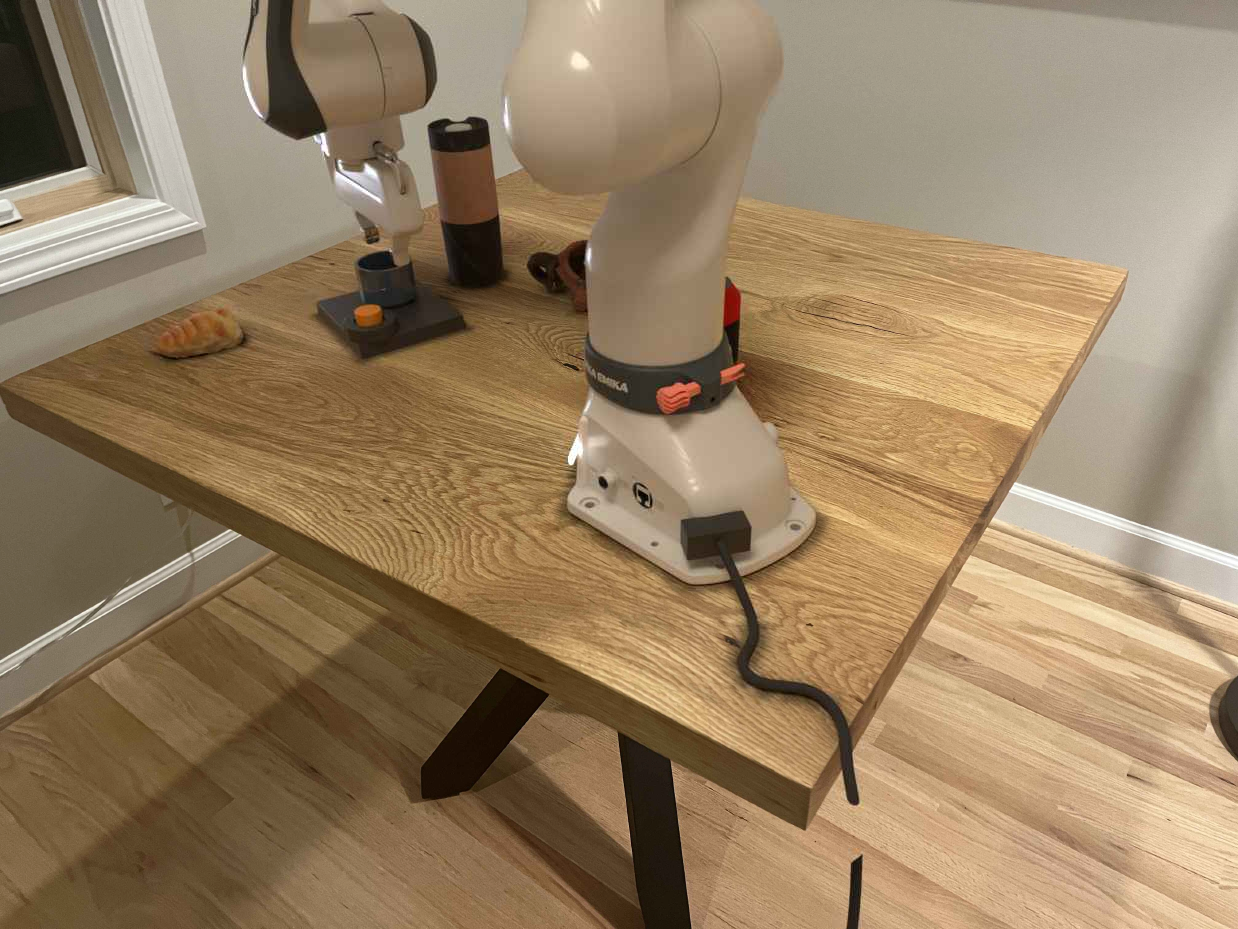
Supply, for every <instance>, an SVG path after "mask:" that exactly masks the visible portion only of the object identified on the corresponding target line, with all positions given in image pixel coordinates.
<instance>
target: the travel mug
mask: <svg viewBox="0 0 1238 929" xmlns="http://www.w3.org/2000/svg"><path fill="white" fill-rule="evenodd" d="M427 136H428V142H429V149H430V150H429V151H430V157H431V165H432V172H433V178H434V186H435V192H436V193H435V194H436V200H437V207H438V215H439V221H440V227H441V233H442V236H443V243H444V244H443V245H444V248H445V249H444V250H445V254H446V260H447V265H448V270H449V275H450V280H451V282H452V283H453V284H454V285H457V286H459V287H460V286H461V287H466V288H477V287H478V288H479V287H486V286H489V285H493V284H495V283H498V282H499V281H501V280H502V279H503V277H504V259H503V258H504V257H503V247H502V234H501V221H500V209H499V200H498V194H497V193H498V192H497V185H496V175H495V168H494V160H493V152H492V143H491V136H490V126H489V122H488V120H487V119H485V118H484V117H479V116H468V117H466V119H464V120H459V121H456V120H455V121H454V120H451V119H450V118H448V117H444V118H440V119H436V120H433V121H431V122H430V123H428V124H427Z"/></svg>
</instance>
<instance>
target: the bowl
mask: <svg viewBox="0 0 1238 929" xmlns="http://www.w3.org/2000/svg"><path fill="white" fill-rule="evenodd" d="M409 257H410V262H409V264H407V265H403V266H397V265H395V264H394V263H393V262H392V261H391V256H390V252H389V249H386V250H385V249H384V250H378V251H374V252H369V253H366V254H364V255H362V256H359V257H358V258H357V259H355V261H354V265H353V266H354V270H355V275H356V280H357V286H358V291H359V290H360V295H361V300H362V301H363V302H364V303H366V304H368V305H378V306H380V308H392V307H397V306H401V305H404V304H406V303H408V302H409V301H411V300H412V299H413V298H414V297H415V296H416V295H417V286H416V280H415V279H416V274H415V268H414V264H413V257H412V255H411V254H410V253H409Z"/></svg>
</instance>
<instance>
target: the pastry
mask: <svg viewBox="0 0 1238 929" xmlns="http://www.w3.org/2000/svg"><path fill="white" fill-rule="evenodd" d="M243 338H244V334H243V331H242V329H241V327H240V324H239V323H238V321H237V320H236V318H235V317H234V315H233V312H232V311H231V309H229V307H228V306H222V305H219V306H217V308H216V309H214V310H213V309H212V310H204V311H201V312H195V313H192V314H191V315H189V316H188V317H187V318H186V319H183V320H181V322H179V323H178V324H174V325H172V326H170V327H169V328H168V329H167V330H164V331H163V332H162V333H159V335H158V336H157V338H156V340H155V348H156V351H157V353H158V354H160V355H163V356H165V357H167V358H168V357H169V358H176V359H177V360H178V359H179V358H182V359H186V358H188V357H192V356H197V357H198V356H200V355H205V354H211V353H216V352H219V351H220V350H222V349H229V348H233V347H235V346H237V345H239V344H241V343H242V342H243Z"/></svg>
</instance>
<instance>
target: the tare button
mask: <svg viewBox="0 0 1238 929" xmlns="http://www.w3.org/2000/svg"><path fill="white" fill-rule="evenodd" d="M354 313H355V318H356V323H357V325H359V326H373V325H376V324H379V323H381V322H382V321H383V316H382V311H381V308H380V306H378V305H364V306H360V307H358V308H357V309H355V311H354Z"/></svg>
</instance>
